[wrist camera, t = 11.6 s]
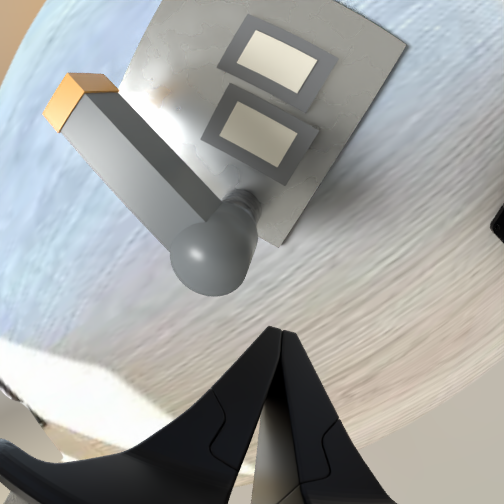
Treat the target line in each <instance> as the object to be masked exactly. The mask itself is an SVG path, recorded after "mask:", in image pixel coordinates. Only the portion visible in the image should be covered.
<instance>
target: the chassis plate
mask: <svg viewBox="0 0 504 504" xmlns="http://www.w3.org/2000/svg"><path fill="white" fill-rule="evenodd" d="M247 14H250V15H252V16H255V17H257V18H259V19H262V20H264V21H266V22H268V23H271V24H273V25H275V26H277V27H280V28H282V29H284V30H286V31H288V32H290V33H292V34H294V35H296V36H298V37H300V38H302V39H304V40H306V41H308V42H310V43H312V44H314V45H316V46H317V47H319V48H321V49H323V50H325V51H327V52H328V53H330V54H332V55H334V56H335V57H337V58H339V59H338V61H337V63H336V64H335V66H334V67H333V69H332V71H331V72H330V74H329V76H328V77H327V79H326V81H325V82H324V84H323V85H322V87H321V89H320V90H319V92H318V94H317V95H316V97H315V99H314V100H313V102H312V104H311V105H310V107H309V109H308V110H307V112H306V113H304V112H302V111H300V110H299V109H297V108H295V107H293V106H292V105H290V104H288V103H286V102H284V101H283V100H281V99H279V98H277V97H275V96H273V95H271V94H269V93H267V92H266V91H264V90H262V89H260V88H258V87H256V86H254V85H252V84H250V83H248V82H246V81H244V80H242V79H239V78H237V77H235V76H233V75H231V74H229V73H227V72H225V71H222V70H220V69H218V68H216V67H217V65H218V63H219V62H220V60H221V58H222V56H223V54H224V53H225V51H226V49H227V47H228V46H229V44H230V42H231V41H232V39H233V37H234V35H235V34H236V32H237V30H238V29H239V27H240V25H241V24H242V22H243V21H244V19H245V17H246V16H247ZM405 47H406V44H405V43H403V42H402V41H400V40H399V39H397V38H396V37H394V36H393V35H391V34H390V33H388V32H387V31H385V30H384V29H382V28H381V27H379V26H377V25H376V24H374V23H373V22H371V21H369V20H368V19H366V18H364V17H362V16H361V15H359V14H357V13H356V12H354V11H352V10H350V9H348V8H347V7H345V6H343V5H341V4H339V3H337V2H335V1H333V0H162V2H161V4H160V5H159V7H158V9H157V11H156V12H155V14H154V16H153V18H152V20H151V22H150V23H149V25H148V27H147V29H146V31H145V33H144V35H143V37H142V39H141V41H140V43H139V45H138V47H137V49H136V51H135V53H134V55H133V57H132V60H131V62H130V64H129V66H128V68H127V70H126V73H125V75H124V77H123V80H122V82H121V84H120V87H119V90H120V91H119V92H118V93H119V94H120V95H121V96H122V97H123V98H124V99H125V100H126V101H127V102H128V103H129V104H130V105H131V106H132V107H133V108H134V110H135V111H136V112H137V113H138V114H139V115H140V116H141V117H142V118H143V119H144V120H145V121H146V122H147V123H148V124H149V125H150V126H151V127H152V128H153V129H154V130H155V131H156V132H157V134H158V135H159V136H160V137H161V138H162V139H163V140H164V141H165V142H166V143H167V144H168V145H169V146H170V147H171V148H172V149H173V150H174V151H175V152H176V153H177V155H178V156H179V157H180V158H181V159H182V160H183V161H184V162H185V163H186V164H187V165H188V166H189V167H190V168H191V169H192V170H193V171H194V172H195V174H196V175H197V176H198V177H199V178H200V179H201V180H202V181H203V182H204V183H205V184H206V185H207V186H208V187H209V188H210V189H211V190H212V192H213V193H214V194H215V195H216V196H217V197H218V198H219V199H220V200H221V201H222V202H224V203H230V204H234V205H236V206H238V207H240V208H242V209H243V210H245V211H246V212H247V213H248V214H249V215H250V216H251V218H252V219H253V221H254V223H255V225H256V228H257V232H258V237H260V238H262V239H264V240H265V241H267V242H269V243H271V244H272V245H274V246H276V247H278V248H279V247H280V245H281V244H282V242H283V241H284V239H285V238H286V236H287V235H288V233H289V232H290V230H291V229H292V227H293V225H294V224H295V222H296V221H297V219H298V218H299V216H300V215H301V213H302V212H303V210H304V208H305V207H306V205H307V204H308V202H309V201H310V199H311V198H312V196H313V195H314V193H315V191H316V190H317V188H318V187H319V185H320V184H321V182H322V180H323V179H324V177H325V176H326V174H327V173H328V171H329V169H330V168H331V166H332V165H333V163H334V162H335V160H336V158H337V157H338V155H339V154H340V152H341V151H342V149H343V147H344V146H345V144H346V143H347V141H348V139H349V138H350V136H351V135H352V133H353V131H354V130H355V128H356V127H357V125H358V123H359V122H360V120H361V119H362V117H363V115H364V114H365V112H366V111H367V109H368V107H369V106H370V104H371V102H372V101H373V99H374V98H375V96H376V94H377V93H378V91H379V89H380V88H381V86H382V85H383V83H384V81H385V80H386V78H387V76H388V75H389V73H390V71H391V70H392V68H393V67H394V65H395V63H396V62H397V60H398V58H399V57H400V55H401V53H402V52H403V50H404V48H405ZM229 83H232V84H234V85H236V86H238V87H240V88H242V89H244V90H246V91H248V92H250V93H252V94H254V95H256V96H258V97H260V98H262V99H264V100H266V101H268V102H269V103H271V104H273V105H275V106H277V107H279V108H281V109H282V110H284V111H286V112H288V113H290V114H291V115H293V116H295V117H297V118H298V119H300V120H302V121H304V122H305V123H307V124H309V125H310V126H312V127H314V128H316V129H317V130H319V132H318V134H317V135H316V137H315V139H314V140H313V142H312V144H311V145H310V147H309V148H308V150H307V152H306V153H305V155H304V157H303V158H302V160H301V162H300V163H299V165H298V166H297V168H296V170H295V171H294V173H293V175H292V176H291V178H290V180H289V181H288V183H287V185H286V186H284V185H282V184H280V183H278V182H277V181H275V180H273V179H271V178H270V177H268V176H266V175H264V174H263V173H261V172H259V171H257V170H256V169H254V168H252V167H250V166H248V165H247V164H245V163H243V162H241V161H239V160H237V159H236V158H234V157H232V156H230V155H228V154H226V153H225V152H223V151H221V150H219V149H217V148H215V147H213V146H211V145H209V144H208V143H206V142H204V141H202V140H200V139H201V137H202V135H203V133H204V131H205V129H206V127H207V125H208V123H209V121H210V119H211V117H212V115H213V113H214V111H215V109H216V107H217V105H218V103H219V101H220V100H221V98H222V96H223V94H224V92H225V90H226V88H227V87H228V85H229Z"/></svg>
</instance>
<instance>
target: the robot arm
mask: <svg viewBox="0 0 504 504" xmlns="http://www.w3.org/2000/svg"><path fill="white" fill-rule="evenodd" d="M497 224H498V226H497V228H496V229H495V227H496V225H497ZM490 229H491V231H492V232H493V233H494V234H495V235H496V236H497V237H498V238H499V239H500V240H501V241H502V242H503V243H504V204H503V206H502V207H501V209H500V210H499V212H498V213H497V215H496V216H495V218H494V219H493V221H492V222H491V224H490ZM260 415H261V418H260ZM259 418H260V428H259V437H258V446H257V456H256V465H255V473H254V482H253V491H252V500H251V504H397V503H396V502H395V501H393V500H392V499H391V498H390V497H389V496H388V495H387V493H386V492H385V491H384V489H383V488H382V487H381V485H380V484H379V482H378V481H377V479H376V478H375V476H374V475H373V473H372V472H371V470H370V469H369V467H368V466H367V464H366V463H365V462H364V460H363V459H362V457H361V455H360V454H359V452H358V451H357V449H356V447H355V446H354V444H353V443H352V441H351V439H350V437H349V435H348V433H347V432H346V430H345V428H344V426H343V424H342V422H341V420H340V419H339V416H338V414H337V412H336V410H335V408H334V406H333V404H332V403H331V401H330V399H329V397H328V395H327V393H326V391H325V389H324V387H323V385H322V383H321V381H320V379H319V377H318V375H317V373H316V371H315V369H314V367H313V365H312V363H311V361H310V359H309V357H308V355H307V353H306V351H305V349H304V347H303V345H302V344H301V342H300V340H299V338H298V336H297V334H296V333H294V332H290V331H287V330H283V331H282V330H281V329H279V328H275V327H272V326H268V327H267V328H266V329H265V330H264V331H263V332H262V333H261V335H260V336H259V337H258V338H257V339H256V340H255V341H254V342H253V343H252V344H251V345H250V347H249V348H248V349H247V350H246V351H245V352H244V353H243V354H242V355H241V356H240V357H239V358H238V360H237V361H236V362H235V363H234V364H233V365H232V366H231V367H230V368H229V369H228V370H227V371H226V372H225V373H224V374H223V375H222V376H221V378H220V379H219V380H218V381H217V382H216V383H215V384H214V385H213V386H212V387H211V388H210V389H209V390H208V391H207V392H206V393H205V394H204V395H203V396H202V397H201V398H200V399H199V400H198V401H197V402H196V403H194V404H193V405H192V406H191V407H190V408H189V409H188V410H186V411H185V412H184V413H183V414H181V415H180V416H179V417H177V418H176V419H175V420H173V421H172V422H170V423H169V424H168V425H166V426H165V427H163V428H162V429H160V430H159V431H158V432H156V433H155V434H153V435H152V436H150V437H149V438H147V439H146V440H144V441H143V442H141V443H140V444H138V445H136V446H134V447H133V448H131V449H129V450H126V451H124V452H121V453H117V454H112V455H107V456H102V457H96V458H91V459H85V460H79V461H72V462H65V463H50V462H44V461H41V460H38V459H36V458H34V457H32V456H30V455H28V454H27V453H26V452H24V451H23V450H21V449H20V448H19V447H17V446H15V445H14V444H13V443H11V442H9V441H7V440H5V439H2V438H0V482H1V483H2V484H3V485H5V487H7V488H8V489H9V490H10V491H11V492H10V493H9V495H8V497H7V499H6V500H5V502H4V504H228V501H229V498H230V495H231V492H232V489H233V486H234V483H235V481H236V478H237V476H238V473H239V471H240V468H241V465H242V463H243V460H244V458H245V455H246V453H247V450H248V447H249V445H250V442H251V439H252V437H253V434H254V431H255V429H256V426H257V423H258V420H259Z"/></svg>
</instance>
